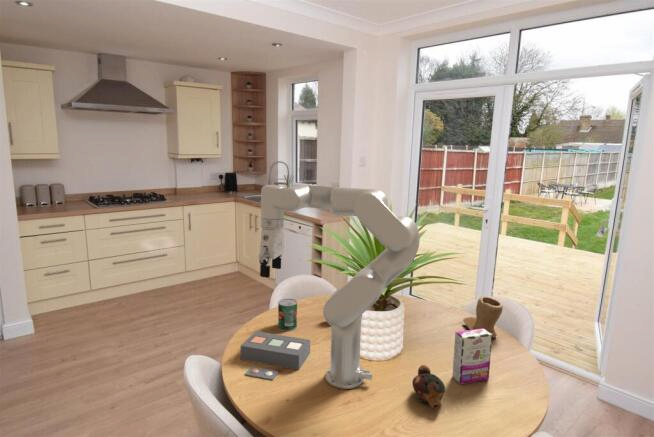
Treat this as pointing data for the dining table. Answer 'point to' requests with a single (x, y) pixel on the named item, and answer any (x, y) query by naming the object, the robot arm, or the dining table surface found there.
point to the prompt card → (261, 373)
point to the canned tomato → (287, 314)
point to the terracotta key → (258, 340)
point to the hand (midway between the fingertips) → (270, 272)
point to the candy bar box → (472, 355)
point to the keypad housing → (275, 351)
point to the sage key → (276, 343)
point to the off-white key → (294, 346)
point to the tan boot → (485, 315)
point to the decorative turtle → (428, 387)
